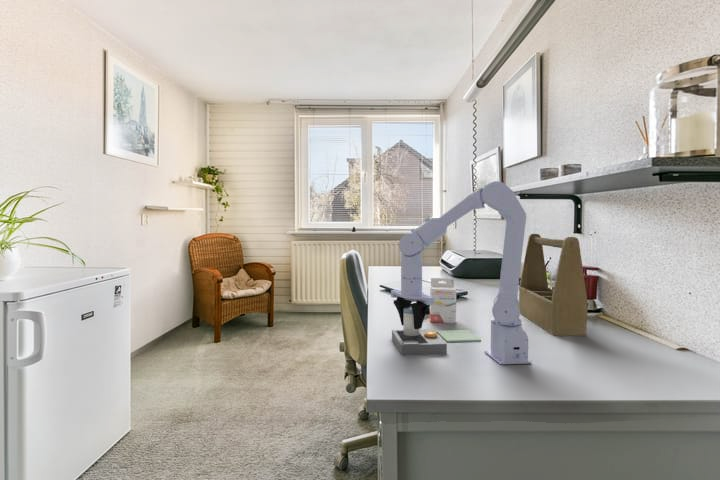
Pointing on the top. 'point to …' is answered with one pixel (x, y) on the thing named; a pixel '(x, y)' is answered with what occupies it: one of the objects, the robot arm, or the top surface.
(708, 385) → the top surface
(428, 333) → the plunger
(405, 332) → the cylinder
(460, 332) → the mat
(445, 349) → the dock
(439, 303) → the ink cartridge box
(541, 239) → the caddy
